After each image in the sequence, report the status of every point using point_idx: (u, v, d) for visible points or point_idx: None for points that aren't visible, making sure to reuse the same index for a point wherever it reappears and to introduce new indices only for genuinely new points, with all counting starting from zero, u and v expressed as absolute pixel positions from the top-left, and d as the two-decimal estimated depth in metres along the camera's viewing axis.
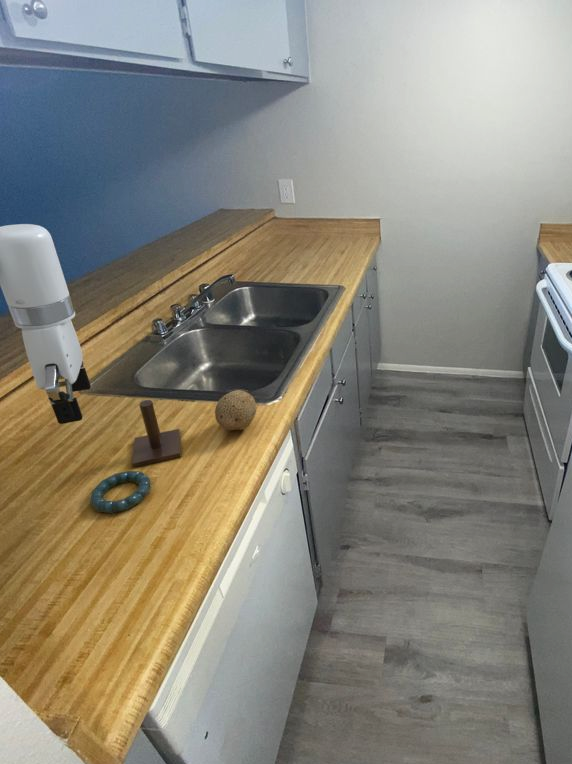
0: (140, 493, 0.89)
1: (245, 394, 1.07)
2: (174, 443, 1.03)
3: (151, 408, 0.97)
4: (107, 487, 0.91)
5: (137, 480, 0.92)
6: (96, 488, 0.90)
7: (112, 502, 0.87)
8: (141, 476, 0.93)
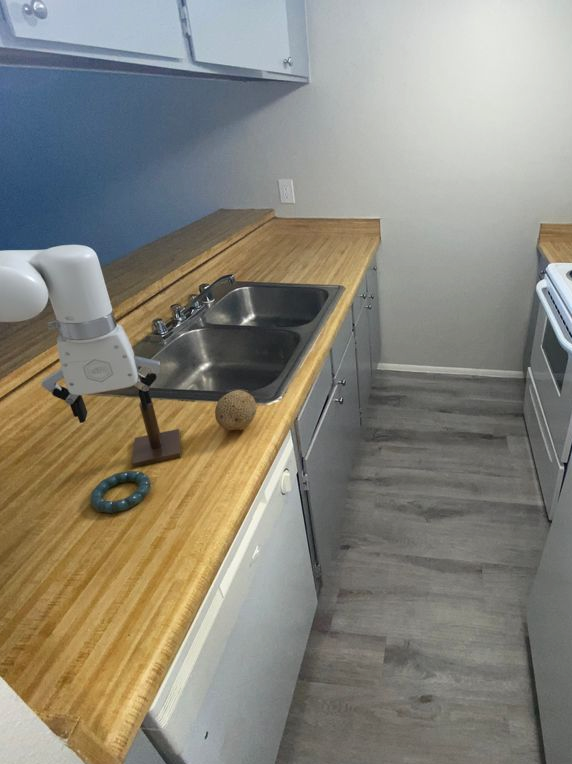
0: (140, 493, 0.89)
1: (245, 394, 1.07)
2: (174, 443, 1.03)
3: (151, 408, 0.97)
4: (107, 487, 0.91)
5: (137, 480, 0.92)
6: (96, 488, 0.90)
7: (112, 502, 0.87)
8: (141, 476, 0.93)
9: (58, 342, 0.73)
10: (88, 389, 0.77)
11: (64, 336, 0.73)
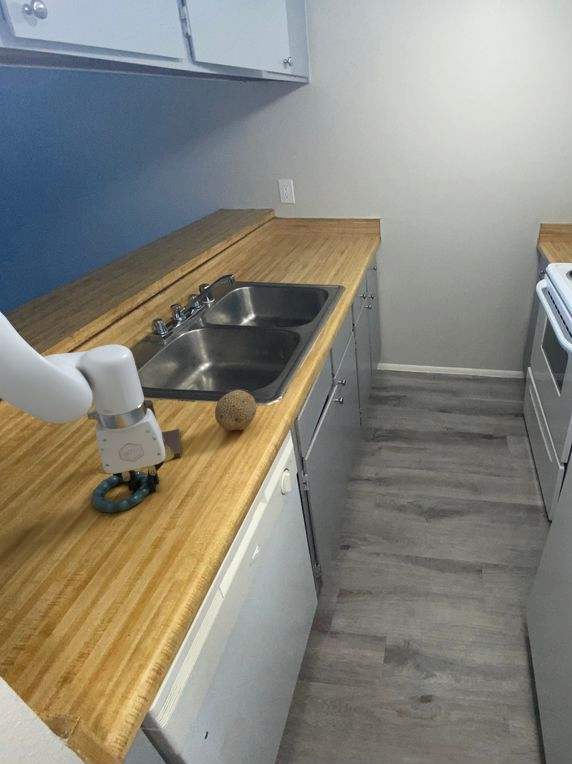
0: (141, 493, 0.89)
1: (245, 394, 1.07)
2: (174, 443, 1.03)
3: (151, 408, 0.97)
4: (108, 487, 0.91)
5: (138, 480, 0.92)
6: (97, 487, 0.90)
7: (113, 502, 0.87)
8: (142, 475, 0.93)
9: (97, 430, 0.82)
10: (122, 468, 0.85)
11: (102, 425, 0.81)
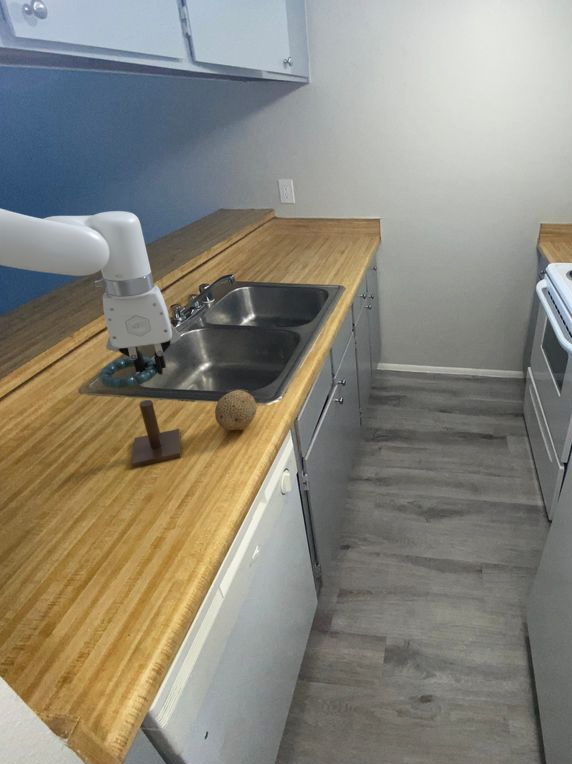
0: (148, 372, 0.89)
1: (245, 394, 1.07)
2: (174, 443, 1.03)
3: (151, 408, 0.97)
4: (115, 369, 0.91)
5: (145, 363, 0.93)
6: (104, 367, 0.90)
7: (120, 378, 0.87)
8: (149, 359, 0.93)
9: (104, 298, 0.82)
10: (129, 343, 0.86)
11: (109, 293, 0.81)
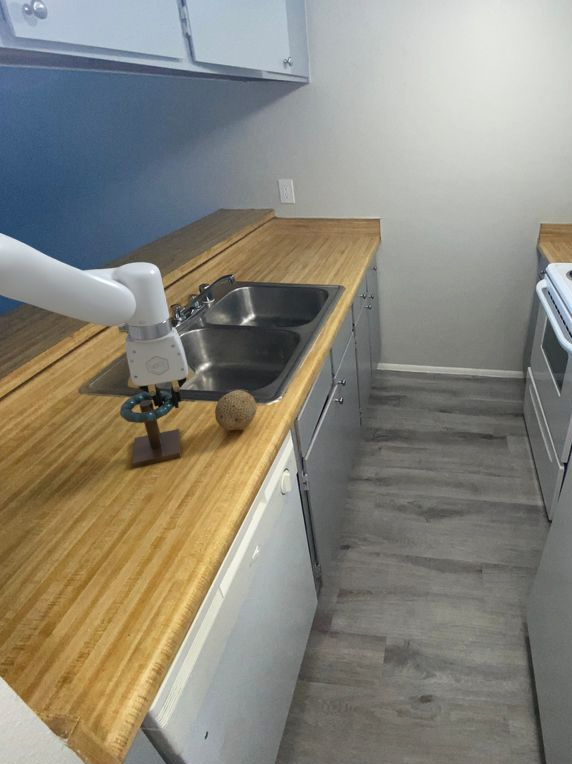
0: (166, 406, 0.96)
1: (245, 394, 1.07)
2: (174, 443, 1.03)
3: (151, 408, 0.97)
4: (135, 403, 0.98)
5: (162, 397, 1.00)
6: (125, 402, 0.97)
7: (141, 413, 0.94)
8: (166, 394, 1.00)
9: (127, 342, 0.89)
10: (149, 381, 0.93)
11: (132, 337, 0.88)
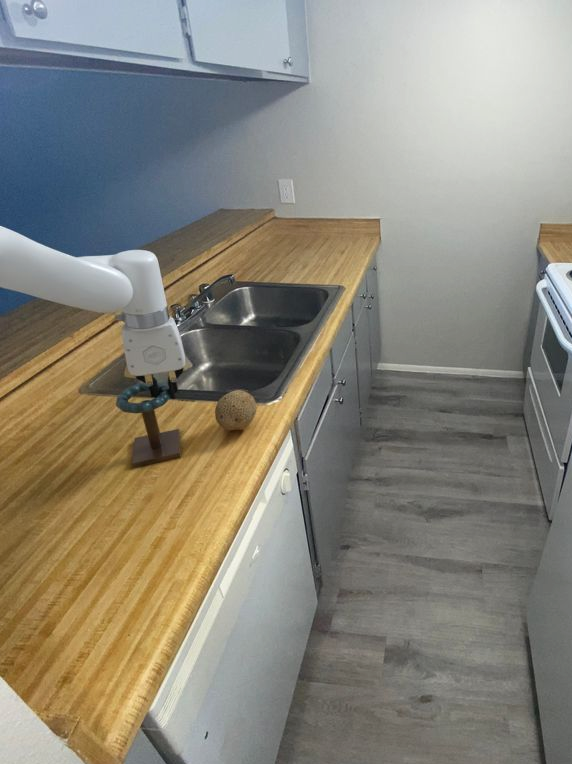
0: (162, 397, 0.95)
1: (245, 394, 1.07)
2: (174, 443, 1.03)
3: None
4: (131, 394, 0.97)
5: (159, 388, 0.98)
6: (121, 393, 0.96)
7: (137, 403, 0.93)
8: (163, 385, 0.99)
9: (123, 331, 0.87)
10: (145, 371, 0.91)
11: (129, 325, 0.87)
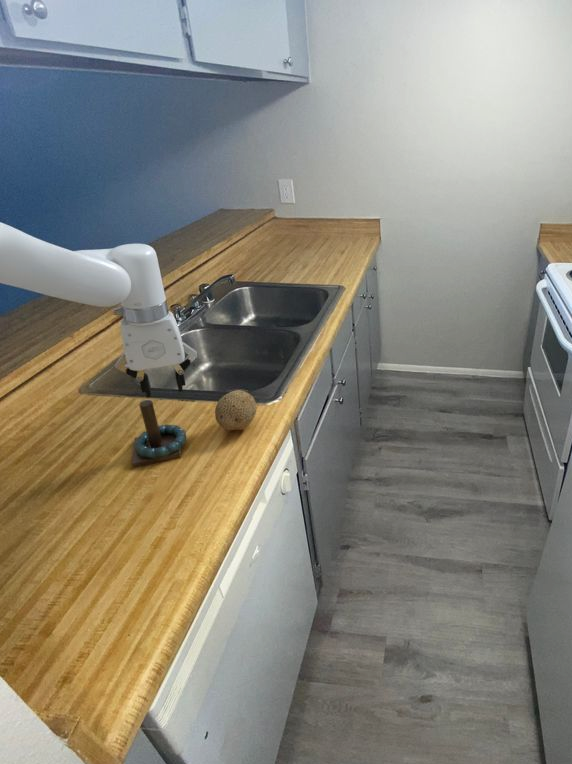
0: (178, 442, 1.01)
1: (245, 394, 1.07)
2: None
3: (151, 408, 0.97)
4: None
5: (174, 432, 1.04)
6: (139, 437, 1.01)
7: (154, 448, 0.98)
8: (178, 428, 1.04)
9: (122, 325, 0.87)
10: (144, 365, 0.91)
11: (127, 320, 0.87)
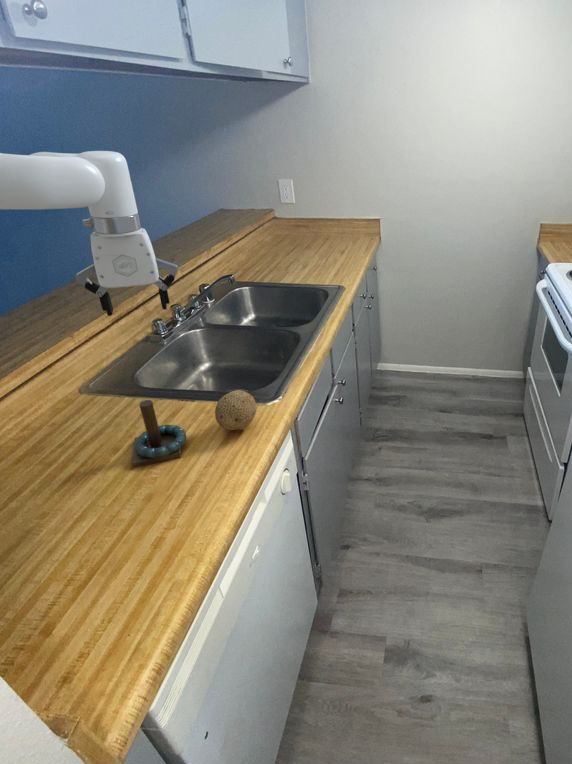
0: (178, 442, 1.01)
1: (245, 394, 1.07)
2: None
3: (151, 408, 0.97)
4: None
5: (174, 432, 1.04)
6: (139, 437, 1.01)
7: (154, 448, 0.98)
8: (178, 428, 1.04)
9: (92, 237, 0.84)
10: (116, 282, 0.88)
11: (97, 231, 0.84)
